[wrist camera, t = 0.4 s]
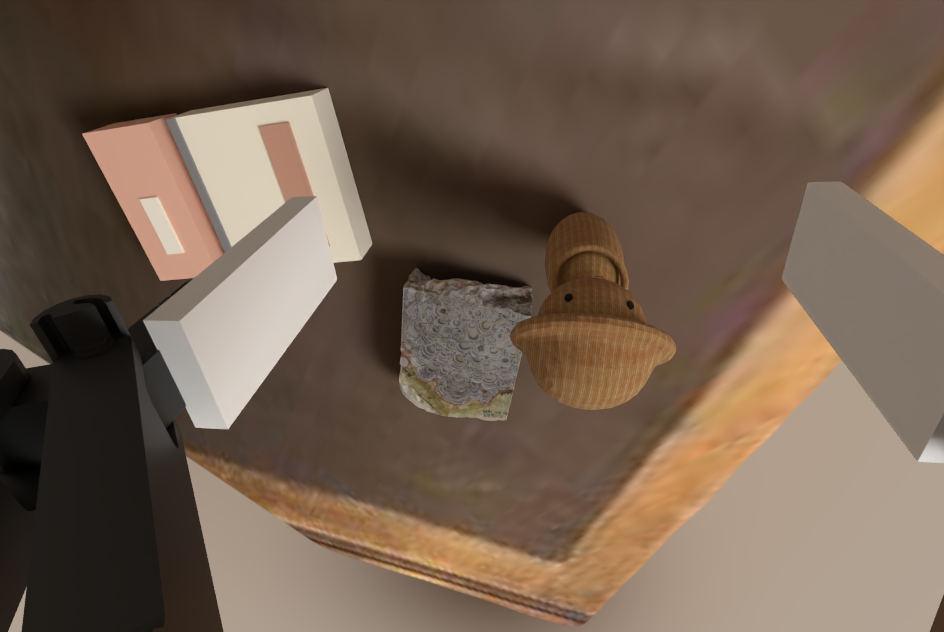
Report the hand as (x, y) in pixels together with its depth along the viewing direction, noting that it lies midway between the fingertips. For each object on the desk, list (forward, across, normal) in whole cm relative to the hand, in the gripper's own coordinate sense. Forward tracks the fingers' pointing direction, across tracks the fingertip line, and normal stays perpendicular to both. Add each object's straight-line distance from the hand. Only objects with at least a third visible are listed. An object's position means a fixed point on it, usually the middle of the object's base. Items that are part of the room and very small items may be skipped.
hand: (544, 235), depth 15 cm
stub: (+27, -32, -8) cm, 43 cm away
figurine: (+27, +2, -12) cm, 30 cm away
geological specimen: (+28, -8, -22) cm, 36 cm away
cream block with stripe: (+27, -22, -7) cm, 36 cm away
